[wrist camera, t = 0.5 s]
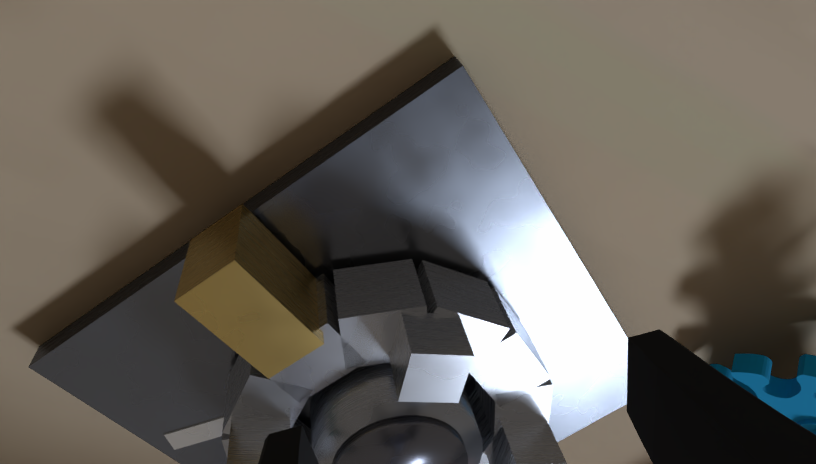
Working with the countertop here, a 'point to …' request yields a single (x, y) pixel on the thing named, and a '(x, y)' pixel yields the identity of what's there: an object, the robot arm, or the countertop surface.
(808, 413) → the gear
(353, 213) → the flange plate
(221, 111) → the countertop surface
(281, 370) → the grey block ring
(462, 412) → the housing
